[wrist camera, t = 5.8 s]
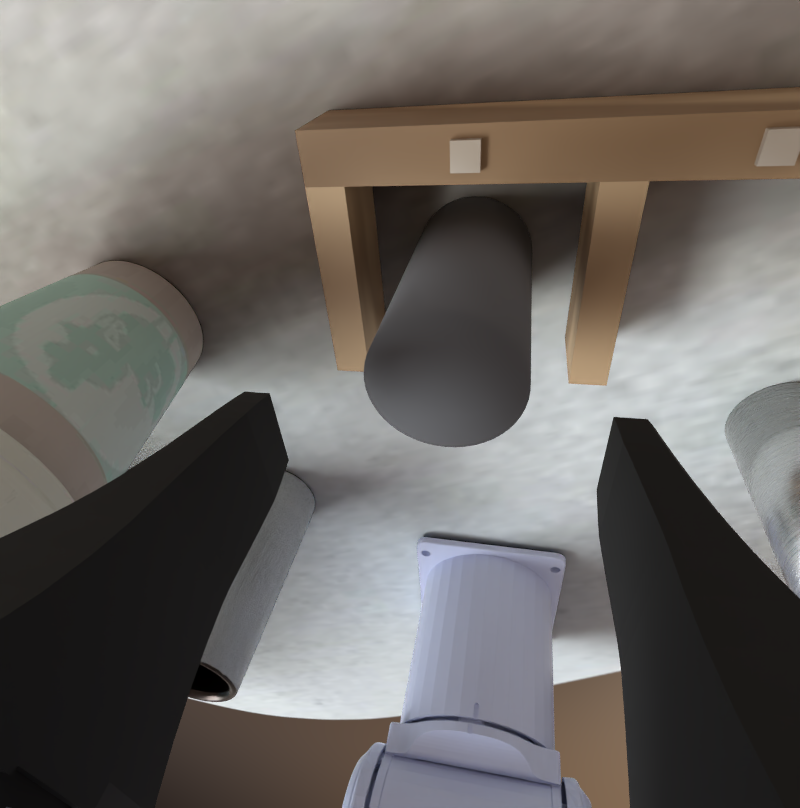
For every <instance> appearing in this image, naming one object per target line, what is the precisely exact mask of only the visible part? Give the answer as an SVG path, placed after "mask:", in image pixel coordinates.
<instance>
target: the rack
mask: <svg viewBox="0 0 800 808" xmlns="http://www.w3.org/2000/svg"><path fill="white" fill-rule="evenodd" d="M295 134H296V139H297V145H298V150H299V156H300V162H301V167H302V173H303V178H304V184H305V190H306V195H307V201H308V206H309V212H310V218H311V223H312V229H313V234H314V240H315V246H316V251H317V257H318V262H319V268H320V273H321V279H322V285H323V290H324V296H325V301H326V307H327V313H328V318H329V324H330V329H331V335H332V341H333V346H334V352H335V357H336V363H337V369H338V370H342V371H360V372H364V363H365V359H366V355H367V353H368V350H369V348H370V346H371V344H372V342H373V339H374V337H375V335H376V333H377V331H378V329H379V326H380V324H381V322H382V320H383V318H384V316H385V305H384V295H383V285H382V275H381V266H380V256H379V246H378V236H377V227H376V217H375V207H374V197H373V187H372V186H413V185H468V184H523V183H577V182H587V186H586V193H585V200H584V207H583V214H582V221H581V228H580V235H579V242H578V249H577V256H576V264H575V271H574V278H573V285H572V292H571V299H570V306H569V313H568V320H567V327H566V334H565V343H566V355H567V368H568V380H569V383H571V384H588V385H606V384H607V380H608V375H609V370H610V365H611V361H612V356H613V351H614V347H615V342H616V337H617V332H618V328H619V323H620V318H621V313H622V309H623V304H624V299H625V295H626V290H627V285H628V280H629V276H630V271H631V266H632V261H633V257H634V252H635V247H636V243H637V238H638V233H639V228H640V224H641V219H642V214H643V209H644V205H645V200H646V195H647V191H648V186H649V181H687V180H742V179H796V178H800V87H790V88H770V89H750V90H730V91H710V92H690V93H670V94H650V95H630V96H610V97H590V98H569V99H549V100H529V101H509V102H489V103H469V104H449V105H429V106H409V107H389V108H369V109H349V110H328V111H327V112H325V113H323V114H322V115H320V116H318V117H317V118H315V119H314V120H312V121H310V122H309V123H307V124H305V125H304V126H302V127H300V128H299V129H297V130H295Z"/></svg>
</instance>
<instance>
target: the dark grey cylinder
mask: <svg viewBox="0 0 800 808" xmlns="http://www.w3.org/2000/svg"><path fill="white" fill-rule="evenodd" d="M531 294H532V244H531V239H530V235H529V232H528V230H527V227H526V225H525V224H524V222H523V220H522V219H521V218H520V217H519V216H518V214H517V213H516V212H514V211H513V210H512V209H511V208H509V207H508V206H507V205H505V204H503V203H501V202H499V201H496V200H493V199H490V198H485V197H467V198H462V199H459V200H456V201H453V202H451V203H449V204H447V205H445V206H444V207H442V208H441V209H440V210H438V211H437V212H436V213H435V214H434V215H433V216H432V218H431V219H430V220H429V222H428V223H427V225H426V226H425V228H424V231H423V233H422V235H421V237H420V239H419V242H418V244H417V246H416V248H415V250H414V252H413V255H412V257H411V259H410V261H409V263H408V265H407V268H406V270H405V272H404V274H403V276H402V279H401V281H400V283H399V285H398V287H397V289H396V292H395V294H394V296H393V298H392V300H391V302H390V305H389V307H388V309H387V311H386V313H385V316H384V318H383V320H382V322H381V324H380V326H379V329H378V331H377V333H376V335H375V337H374V339H373V342H372V344H371V346H370V348H369V350H368V353H367V355H366V359H365V363H364V382H365V387H366V390H367V393H368V396H369V398H370V400H371V402H372V404H373V405H374V407H375V408H376V410H377V411H378V412H379V414H380V415H381V416H382V417H383V418H384V419H385V420H386V421H387V422H388V423H389V424H390V425H392V426H393V427H394V428H396V429H397V430H399V431H400V432H402V433H404V434H405V435H407V436H409V437H411V438H414V439H416V440H418V441H421V442H424V443H428V444H432V445H437V446H444V447H465V446H472V445H477V444H480V443H484V442H487V441H489V440H492V439H494V438H496V437H498V436H499V435H501V434H503V433H504V432H505V431H507V430H508V429H509V428H510V427H512V426H513V425H514V424H515V423H516V421H517V420H518V419H519V418H520V416H521V415H522V413H523V411H524V410H525V408H526V405H527V403H528V400H529V395H530V385H531Z"/></svg>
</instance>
